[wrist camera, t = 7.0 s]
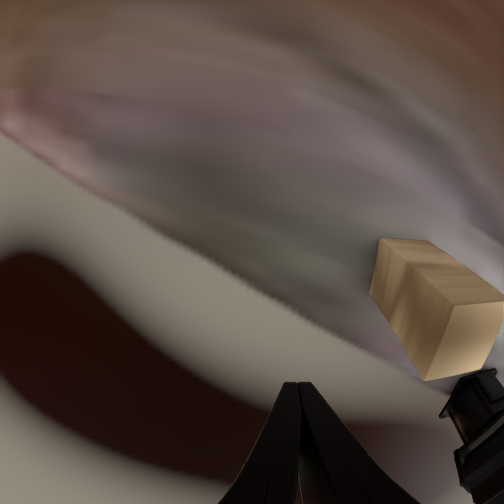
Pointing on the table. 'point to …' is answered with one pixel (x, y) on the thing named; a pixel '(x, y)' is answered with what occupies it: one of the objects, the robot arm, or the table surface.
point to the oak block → (436, 307)
